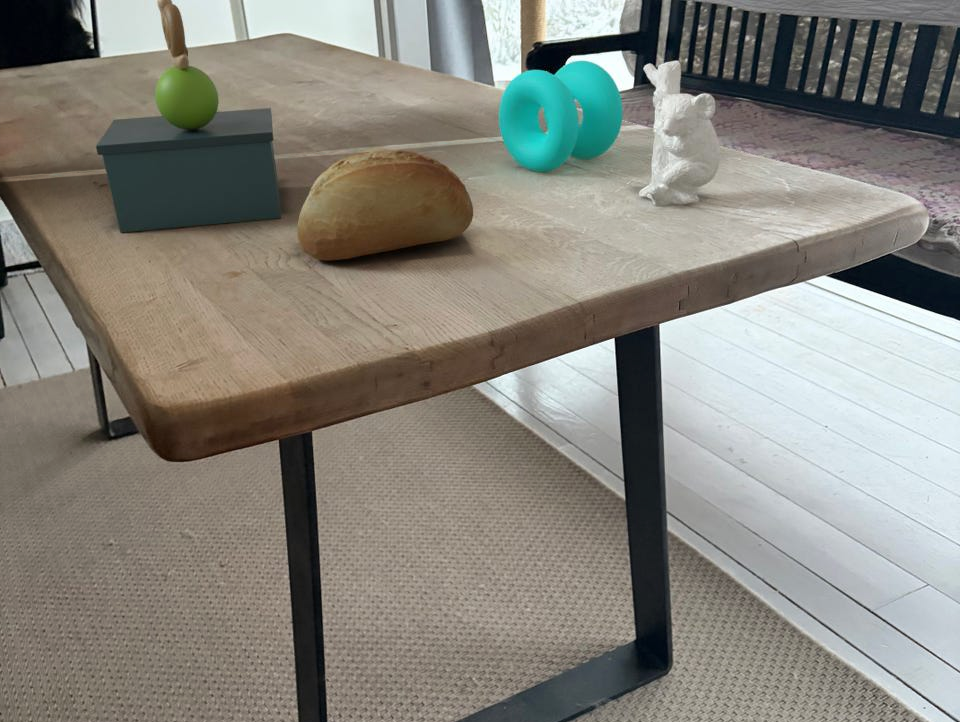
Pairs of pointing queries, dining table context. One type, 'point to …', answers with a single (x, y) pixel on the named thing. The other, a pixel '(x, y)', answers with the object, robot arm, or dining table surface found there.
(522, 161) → the donuts
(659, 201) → the koala figurine
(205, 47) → the dining table surface
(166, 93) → the snail figurine
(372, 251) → the bread roll
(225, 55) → the dining table surface
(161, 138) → the container
